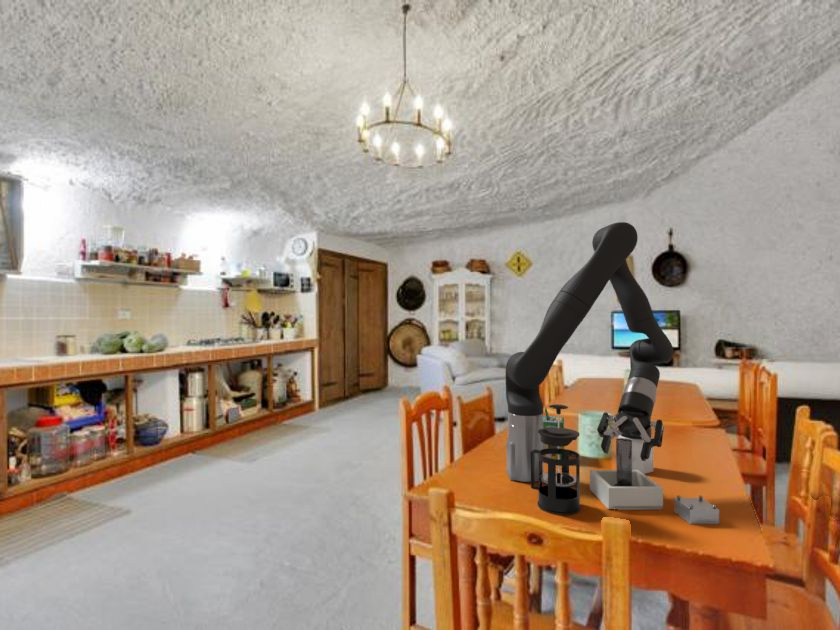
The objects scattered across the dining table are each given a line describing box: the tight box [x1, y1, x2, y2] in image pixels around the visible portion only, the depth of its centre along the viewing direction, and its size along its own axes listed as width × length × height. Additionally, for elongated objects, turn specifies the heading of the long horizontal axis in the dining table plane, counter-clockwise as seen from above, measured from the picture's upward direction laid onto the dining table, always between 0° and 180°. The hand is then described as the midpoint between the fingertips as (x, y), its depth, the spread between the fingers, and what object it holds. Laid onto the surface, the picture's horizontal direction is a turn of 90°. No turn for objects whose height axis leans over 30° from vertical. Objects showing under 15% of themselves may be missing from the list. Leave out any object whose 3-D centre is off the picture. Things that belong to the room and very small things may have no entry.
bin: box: [589, 469, 664, 511], centre depth 109 cm, size 12×12×5 cm
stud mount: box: [673, 494, 720, 525], centre depth 99 cm, size 6×6×4 cm
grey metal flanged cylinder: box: [614, 437, 632, 486], centre depth 109 cm, size 5×5×13 cm
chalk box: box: [543, 406, 565, 460], centre depth 142 cm, size 9×9×15 cm
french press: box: [530, 403, 582, 516], centre depth 106 cm, size 12×9×23 cm
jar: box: [617, 426, 654, 475], centre depth 130 cm, size 9×8×12 cm
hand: (623, 455), depth 109 cm, fingers open, 8 cm apart
